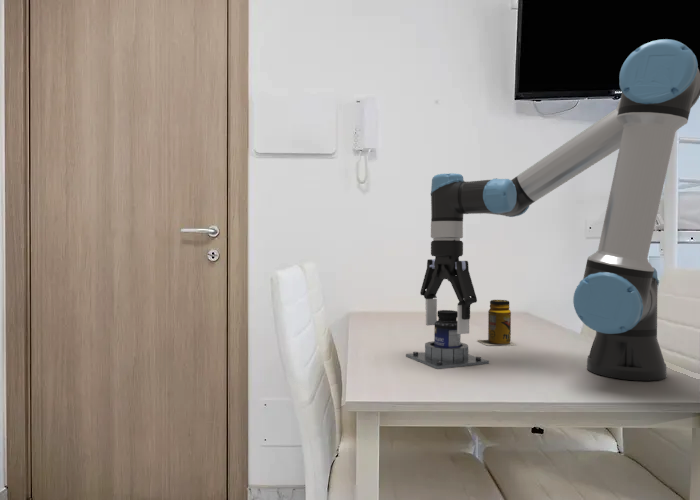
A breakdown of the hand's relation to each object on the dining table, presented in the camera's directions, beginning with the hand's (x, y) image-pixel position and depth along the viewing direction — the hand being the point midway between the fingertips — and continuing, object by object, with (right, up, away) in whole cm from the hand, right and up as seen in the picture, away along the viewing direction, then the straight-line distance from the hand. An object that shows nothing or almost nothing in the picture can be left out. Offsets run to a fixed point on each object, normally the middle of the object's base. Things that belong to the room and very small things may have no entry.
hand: (446, 329), depth 124 cm
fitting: (0, -7, 0) cm, 7 cm away
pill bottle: (0, -7, 0) cm, 7 cm away
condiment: (+18, -7, +22) cm, 29 cm away
